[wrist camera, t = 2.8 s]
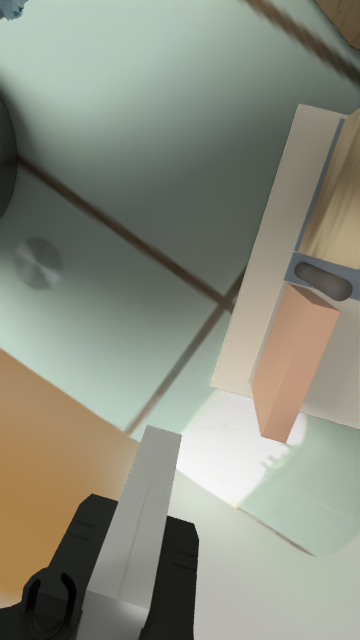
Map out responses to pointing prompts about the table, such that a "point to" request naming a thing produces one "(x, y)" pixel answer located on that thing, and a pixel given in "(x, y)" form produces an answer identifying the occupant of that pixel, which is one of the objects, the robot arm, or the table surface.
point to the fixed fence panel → (336, 217)
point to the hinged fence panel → (291, 359)
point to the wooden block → (344, 18)
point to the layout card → (295, 279)
